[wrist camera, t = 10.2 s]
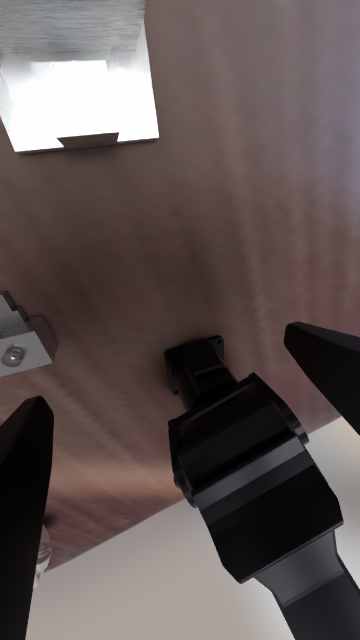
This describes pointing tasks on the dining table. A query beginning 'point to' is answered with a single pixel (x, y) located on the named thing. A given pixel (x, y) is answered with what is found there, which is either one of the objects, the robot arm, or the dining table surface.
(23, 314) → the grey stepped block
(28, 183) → the dining table surface
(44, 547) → the grey stone carving
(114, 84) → the peg stand
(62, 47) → the grey square frame
